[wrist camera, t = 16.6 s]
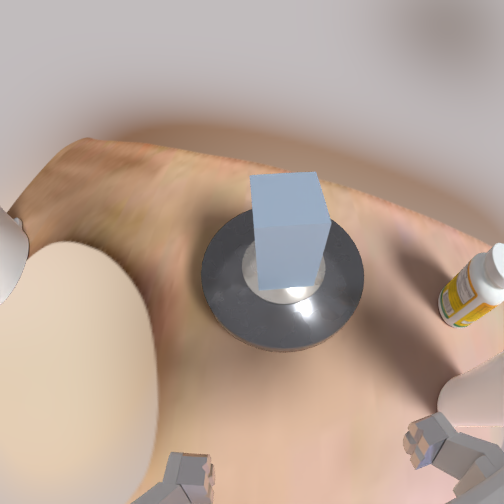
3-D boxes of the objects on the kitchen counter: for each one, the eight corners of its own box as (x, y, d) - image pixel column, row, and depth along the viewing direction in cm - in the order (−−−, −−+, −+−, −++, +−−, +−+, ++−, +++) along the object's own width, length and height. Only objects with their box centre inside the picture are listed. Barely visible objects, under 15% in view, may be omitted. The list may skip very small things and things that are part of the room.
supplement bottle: (429, 309, 24) (480, 260, 16) (448, 276, 26) (492, 225, 18) (461, 340, 22) (519, 301, 14) (477, 305, 24) (528, 261, 16)
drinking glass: (423, 382, 20) (540, 329, 8) (470, 361, 21) (574, 299, 8) (433, 445, 17) (555, 436, 4) (481, 417, 17) (592, 384, 4)
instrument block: (258, 290, 22) (254, 228, 16) (255, 244, 25) (249, 175, 18) (313, 285, 22) (331, 222, 16) (305, 241, 25) (315, 171, 18)
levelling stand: (210, 363, 23) (197, 351, 19) (210, 234, 31) (202, 206, 27) (365, 347, 23) (383, 331, 19) (335, 225, 31) (343, 196, 27)
